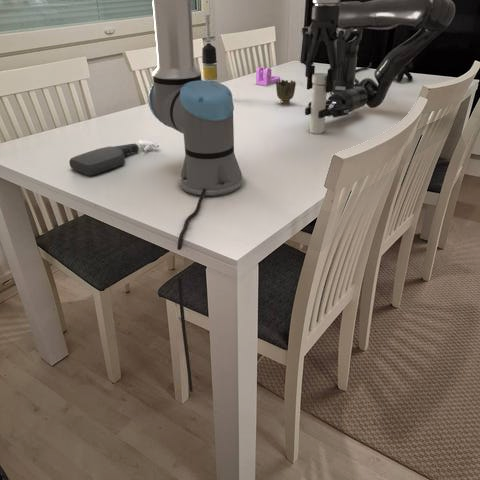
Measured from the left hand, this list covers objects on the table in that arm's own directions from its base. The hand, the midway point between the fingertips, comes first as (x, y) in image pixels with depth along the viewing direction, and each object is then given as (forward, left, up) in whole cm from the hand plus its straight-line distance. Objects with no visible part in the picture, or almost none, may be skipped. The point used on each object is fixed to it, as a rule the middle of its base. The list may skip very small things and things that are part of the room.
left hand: (319, 89), depth 136 cm
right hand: (-2, +1, -7) cm, 7 cm away
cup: (+28, +18, -13) cm, 36 cm away
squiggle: (+81, -22, -13) cm, 85 cm away
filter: (+28, +48, -13) cm, 57 cm away
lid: (0, 0, +4) cm, 4 cm away
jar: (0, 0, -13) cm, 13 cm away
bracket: (+61, +34, -13) cm, 71 cm away
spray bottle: (-40, +48, -13) cm, 64 cm away
